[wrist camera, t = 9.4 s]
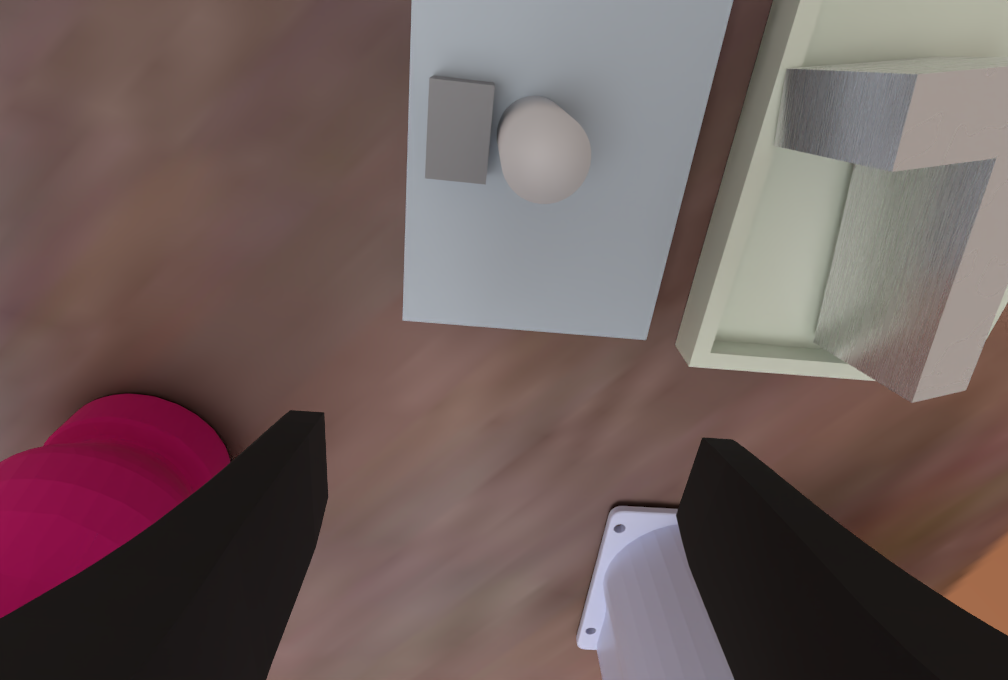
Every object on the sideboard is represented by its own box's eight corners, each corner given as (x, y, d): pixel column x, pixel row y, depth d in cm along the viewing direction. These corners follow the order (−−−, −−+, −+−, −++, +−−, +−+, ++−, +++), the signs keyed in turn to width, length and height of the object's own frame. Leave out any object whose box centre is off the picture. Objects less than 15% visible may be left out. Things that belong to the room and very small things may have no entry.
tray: (928, 365, 22) (958, 387, 21) (674, 344, 21) (689, 366, 20) (1165, -82, 15) (1234, -94, 14) (812, -138, 15) (847, -157, 13)
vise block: (631, 314, 20) (679, 399, 16) (409, 295, 20) (386, 378, 15) (728, -96, 15) (849, -161, 10) (424, -141, 14) (395, -235, 9)
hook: (860, 333, 21) (966, 390, 17) (739, 357, 19) (825, 422, 16) (936, 56, 16) (1096, 58, 13) (786, 68, 15) (918, 74, 12)
